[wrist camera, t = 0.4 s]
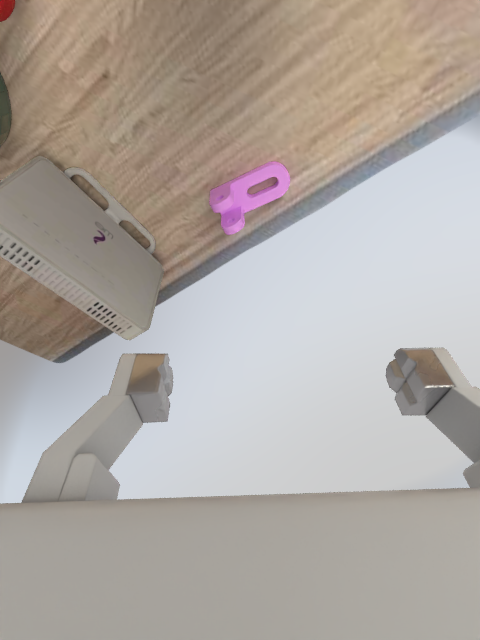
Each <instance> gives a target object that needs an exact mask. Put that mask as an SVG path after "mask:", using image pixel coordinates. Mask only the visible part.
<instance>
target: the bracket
mask: <svg viewBox="0 0 480 640" xmlns="http://www.w3.org/2000/svg"><path fill="white" fill-rule="evenodd" d="M271 177H276V178H277V179H278V180H277V183H276V184H274V185H272V186H270V187H268V188H266V189H264V190H261V191H259V192H257V193H255V194H249V193H247V190H248V188H249V187H251V186H254V185H256V184H258V183H260V182H262V181H264V180H266V179H269V178H271ZM289 184H290V176H289V173H288V171H287V169H286V167H285V166H284V165H282V164H281V163H279V162H268V163H266V164H264V165H262V166H260V167H258V168H256V169H254V170H251V171H249V172H247V173H245V174H243V175H241V176H239V177H237V178H235V179H233V180H231V181H229V182H227V183H225V184H223V185H221V186H218V187H216V188H214V189H212V190H211V191H210V201H209V204H210V206H211V208H212V210H213V211H214V212H215V213H219V212H220V213H221V226H222V228H223V230H224V232H225V234H227V235H230V234H234V233H236V232H238V231H240V230H241V229H242V228H243V227H244V225H245V221H244V214H245V213H246V212H248V211H250V210H253V209H255V208H257V207H259V206H262V205H264V204H266V203H268V202H271V201H273V200H275V199H277V198H279V197H281V196H283V195H284V194H285V193H286V191H287V190H288V188H289Z"/></svg>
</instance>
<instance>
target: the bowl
mask: <svg viewBox="0 0 480 640" xmlns="http://www.w3.org/2000/svg"><path fill="white" fill-rule="evenodd" d="M10 126H11V106H10V100H9V96H8V92H7V88H6V86H5V83H4V80H3V77H2V75H1V73H0V147H1V146H2V144H3V143H4V142H5V140H6V138H7V137H8V134H9V131H10Z"/></svg>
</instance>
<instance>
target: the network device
mask: <svg viewBox="0 0 480 640" xmlns="http://www.w3.org/2000/svg"><path fill="white" fill-rule="evenodd" d="M75 174H78V175H81V176H83V177H84V178H85V179H86V180H87V181H88V182H89V183H90V184H91V185H92V186H93V187H94V188H95V189H96V190H97V191H98V192H99V193H100V194H102V195H103V196H104V197H105V198H106V199H107V201H108V203H109V207H108V208H107V209H106V210H102V209H101V208H100V207H99V206H98V205H97V204H96V203H95V202H94V201H93V200H92V199H91V198H90V197H88V196H87V195H86V194H85V193H84V192H83V191H82V190H81V189H80V188H79V187H78V186H77V185H76V184H75V183H73V182H72V181H71V180H70V178H71V177H72V176H73V175H75ZM122 220H127V221H129V222H131V223H132V224H133V225H134V226H135V227H136V228H137V229H138V230H139V231H140V232H141V233H142V234H143V235H144V236H145V237H146V238H147V239H148V240H149V241H150V243H151V245H150V246H149V247H148V248H146V249H144V248H143V247H142V246H141V245H140V244H139V243H138V242H137V241H136V240H135V239H134V238H132V237H131V236H130V235H129V234H128V233H127V232H126V231H125V230H124V229H123V228H122V227H121V226H120V225H119V223H120V222H121V221H122ZM155 247H156V241H155V239H154V237H153V236H152V234H151V233H150V232H149V231H148V230H147V229H146V228H145V227H144V226H143V225H142V224H141V223H140V222H139V221H138V220H136V219H135V218H134V217H133V216H132V215H131V214H130V213H129V212H128V211H127V210H126V209H125V208H124V207H123V206H122V205H121V204H120V203H119V202H118V201H117V200H116V199H115V198H114V197H113V196H112V195H111V194H110V193H109V192H108V191H107V190H106V189H105V188H104V187H103V186H102V185H101V184H100V183H99V182H98V181H97V180H96V179H95V178H94V177H93V176H92V175H91V174H90V173H88V172H87V171H85V170H84V169H81V168H78V167H70V168H68V169H66V170H65V171H64V172H62V171H61V170H60V169H58V168H57V167H56V166H55V165H54V164H53V163H52V162H51V161H50V160H48V159H47V158H45V157H43V156H36V157H35V158H33V159H32V160H31V161H29V162H28V163H26V164H25V165H23V166H22V167H20V168H19V169H17V170H16V171H14V172H13V173H11V174H10V175H9V176H7V177H6V178H4V179H3V180H1V181H0V256H1V257H2V258H4V259H5V260H7V261H8V262H10V263H11V264H13V265H14V266H16V267H17V268H19V269H20V270H22V271H23V272H25V273H26V274H28V275H29V276H31V277H32V278H34V279H35V280H37V281H38V282H40V283H41V284H43V285H44V286H46V287H47V288H49V289H50V290H52V291H53V292H55V293H56V294H58V295H59V296H61V297H62V298H64V299H65V300H67V301H68V302H70V303H71V304H73V305H74V306H76V307H77V308H79V309H80V310H82V311H83V312H85V313H86V314H88V315H89V316H91V317H92V318H94V319H95V320H97V321H98V322H100V323H101V324H103V325H104V326H106V327H107V328H109V329H110V330H112V331H113V332H115V333H116V334H118V335H119V336H121V337H122V338H124V339H126V340H131V339H133V338H135V337H137V336H138V335H140V334H142V333H143V332H145V331H147V330H148V329H149V328H150V325H151V321H152V317H153V313H154V309H155V305H156V301H157V297H158V293H159V289H160V285H161V281H162V277H163V273H164V269H163V267H162V265H161V264H160V263H159V262H158V261H157V260H156V259H155V258H154V257H153V256H152V255H151V254H152V253H153V252H154V250H155Z"/></svg>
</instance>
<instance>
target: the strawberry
mask: <svg viewBox="0 0 480 640" xmlns="http://www.w3.org/2000/svg"><path fill="white" fill-rule="evenodd" d="M14 7H15V0H0V22H2V21H5V20H6V19H7V18H8V17H9V16H10V15H11V13H12V12H13V9H14Z"/></svg>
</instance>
